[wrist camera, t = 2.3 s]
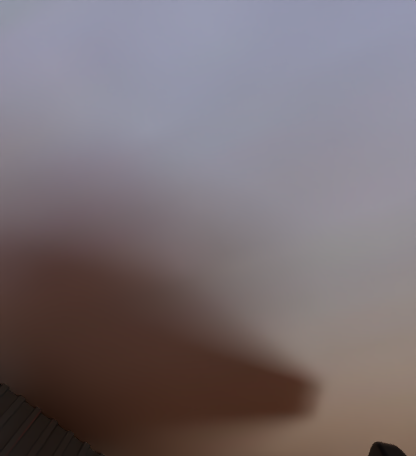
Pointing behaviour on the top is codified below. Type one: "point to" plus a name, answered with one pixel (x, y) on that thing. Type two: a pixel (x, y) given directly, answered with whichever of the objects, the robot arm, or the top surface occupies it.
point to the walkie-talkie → (34, 431)
